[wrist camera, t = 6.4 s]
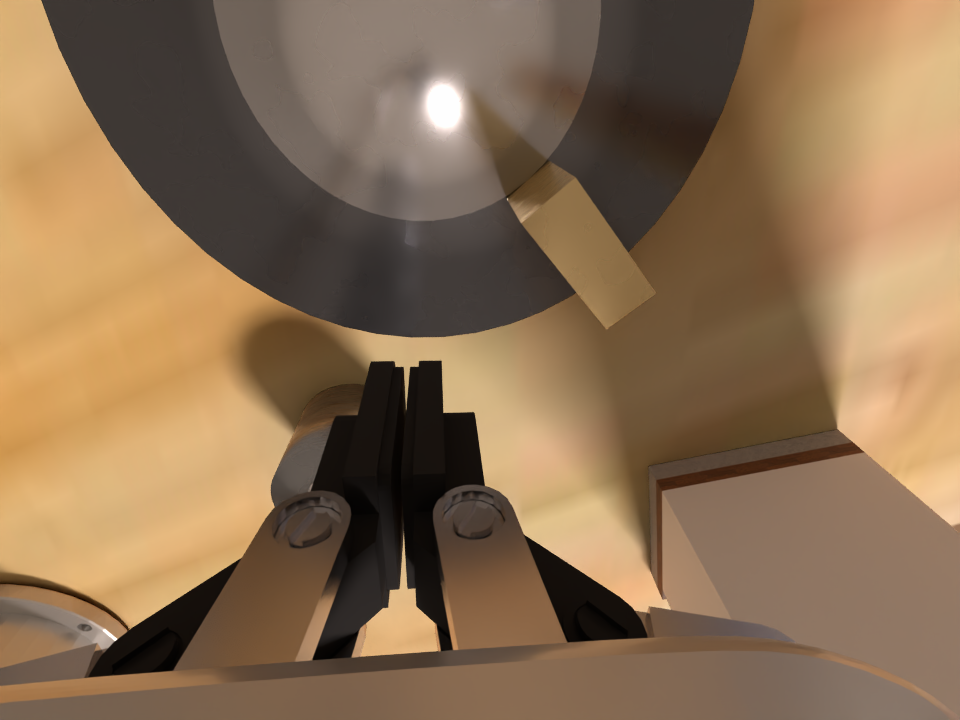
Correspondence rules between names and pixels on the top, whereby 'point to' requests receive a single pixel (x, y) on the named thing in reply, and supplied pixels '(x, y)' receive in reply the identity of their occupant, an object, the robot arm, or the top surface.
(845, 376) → the top surface
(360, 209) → the turntable
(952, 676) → the tall white box
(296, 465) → the grey metallic short cylinder
